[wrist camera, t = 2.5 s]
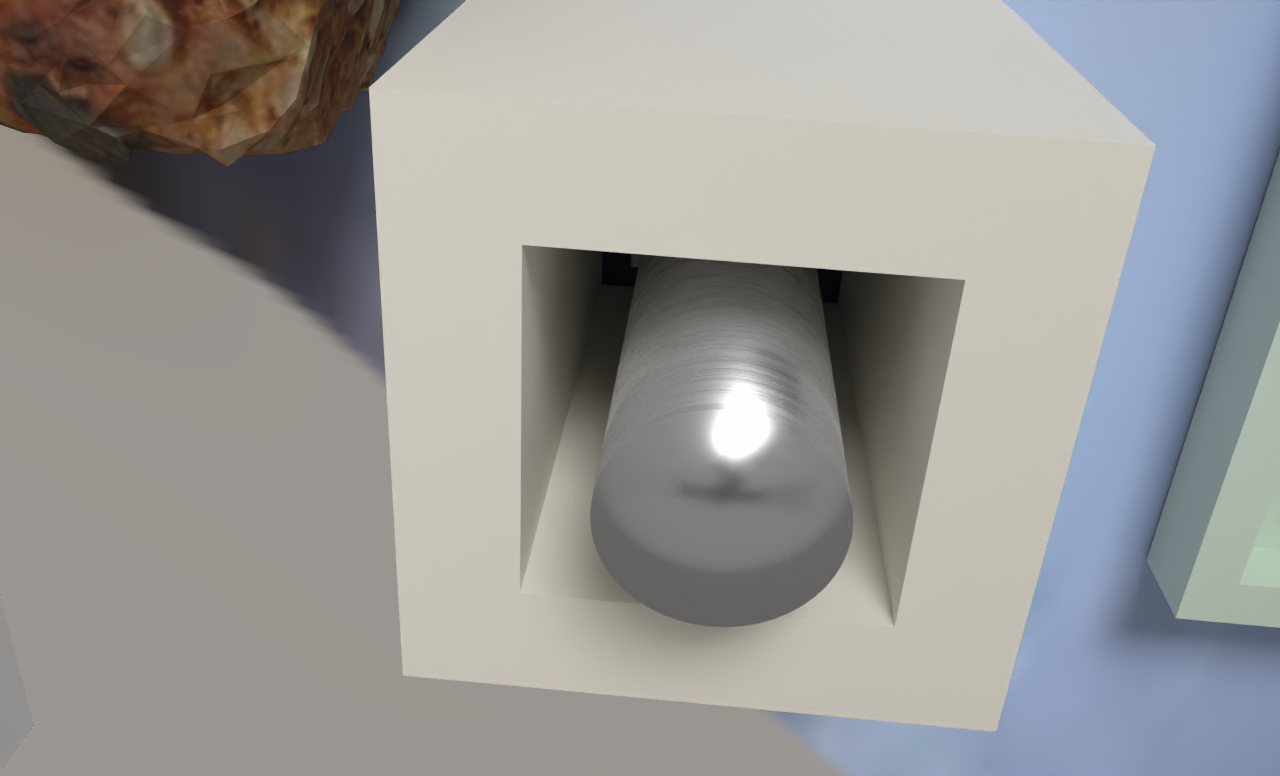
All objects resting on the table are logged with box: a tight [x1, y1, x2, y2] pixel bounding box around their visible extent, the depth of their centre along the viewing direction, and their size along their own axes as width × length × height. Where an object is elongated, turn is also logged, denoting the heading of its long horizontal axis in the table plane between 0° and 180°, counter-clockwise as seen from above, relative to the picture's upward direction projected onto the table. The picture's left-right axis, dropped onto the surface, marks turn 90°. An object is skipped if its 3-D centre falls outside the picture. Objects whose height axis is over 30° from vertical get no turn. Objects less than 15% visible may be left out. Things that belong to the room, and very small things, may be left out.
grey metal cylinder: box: [590, 254, 853, 627], centre depth 18 cm, size 4×4×12 cm
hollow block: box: [369, 0, 1156, 732], centre depth 18 cm, size 8×8×10 cm
